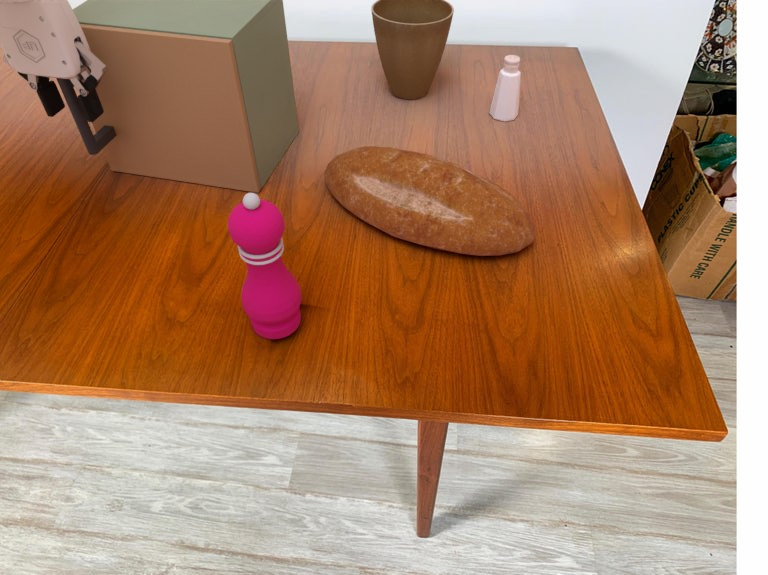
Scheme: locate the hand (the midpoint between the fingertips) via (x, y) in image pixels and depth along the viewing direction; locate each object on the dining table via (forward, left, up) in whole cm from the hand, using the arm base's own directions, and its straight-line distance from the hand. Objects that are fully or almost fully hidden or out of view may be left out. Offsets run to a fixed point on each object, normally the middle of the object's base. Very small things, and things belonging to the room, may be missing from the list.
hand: (76, 113), depth 83 cm
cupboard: (+17, +8, -14) cm, 23 cm away
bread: (+47, -19, -14) cm, 52 cm away
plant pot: (+57, +18, -14) cm, 61 cm away
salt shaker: (+71, +4, -14) cm, 72 cm away
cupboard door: (+10, -3, -14) cm, 17 cm away
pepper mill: (+22, -35, -14) cm, 43 cm away
